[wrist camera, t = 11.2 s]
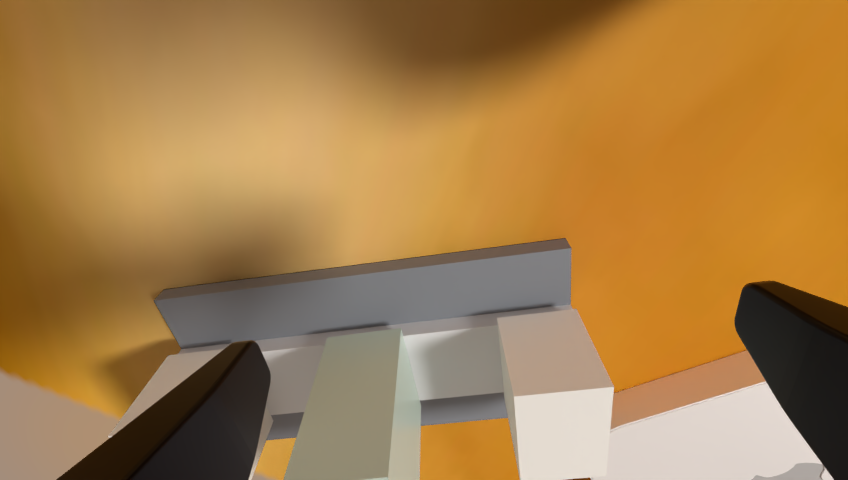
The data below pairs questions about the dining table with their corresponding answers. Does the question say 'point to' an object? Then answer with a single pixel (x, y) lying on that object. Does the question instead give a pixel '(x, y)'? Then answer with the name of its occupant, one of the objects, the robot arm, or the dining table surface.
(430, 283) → the rail board
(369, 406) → the block
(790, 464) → the computer
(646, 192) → the dining table surface
